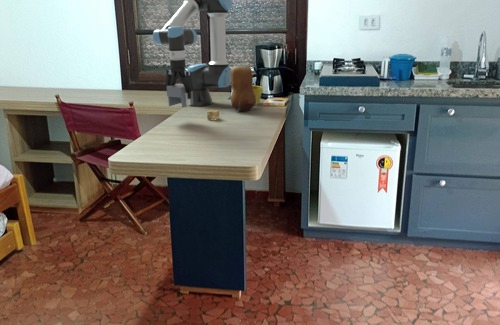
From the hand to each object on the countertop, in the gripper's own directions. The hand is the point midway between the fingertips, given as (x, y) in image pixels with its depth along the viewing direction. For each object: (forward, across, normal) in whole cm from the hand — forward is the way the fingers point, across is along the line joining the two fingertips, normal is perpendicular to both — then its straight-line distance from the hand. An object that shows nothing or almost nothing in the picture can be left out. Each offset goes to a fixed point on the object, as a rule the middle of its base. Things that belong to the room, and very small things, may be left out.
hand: (180, 104), depth 245 cm
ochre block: (+9, +11, +12) cm, 19 cm away
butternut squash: (+9, +15, +35) cm, 39 cm away
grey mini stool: (0, 0, 0) cm, 0 cm away
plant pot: (+9, +11, +53) cm, 55 cm away
